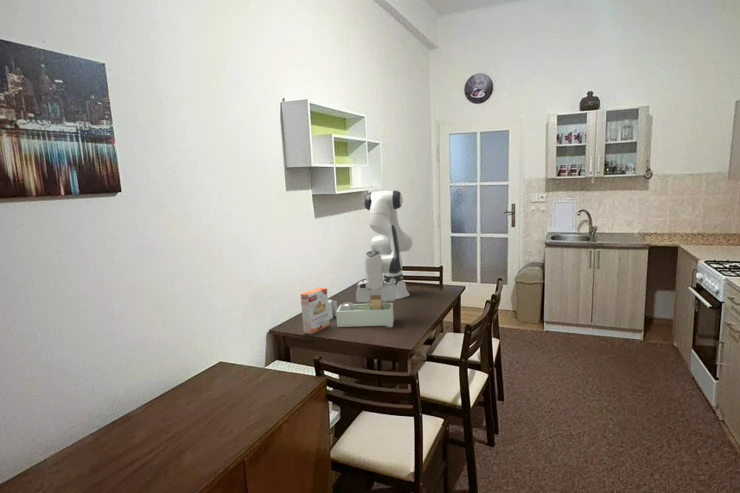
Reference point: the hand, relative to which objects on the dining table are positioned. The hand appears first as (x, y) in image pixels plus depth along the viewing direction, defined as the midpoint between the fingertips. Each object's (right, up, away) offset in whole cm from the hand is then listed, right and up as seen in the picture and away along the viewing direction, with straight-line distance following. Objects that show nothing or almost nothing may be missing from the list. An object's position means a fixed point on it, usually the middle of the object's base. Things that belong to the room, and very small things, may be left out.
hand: (376, 309), depth 226 cm
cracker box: (-30, -11, -3) cm, 32 cm away
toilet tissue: (-28, -8, +14) cm, 33 cm away
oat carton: (0, -5, +1) cm, 5 cm away
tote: (-5, -8, +2) cm, 10 cm away
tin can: (-14, -7, +3) cm, 16 cm away
